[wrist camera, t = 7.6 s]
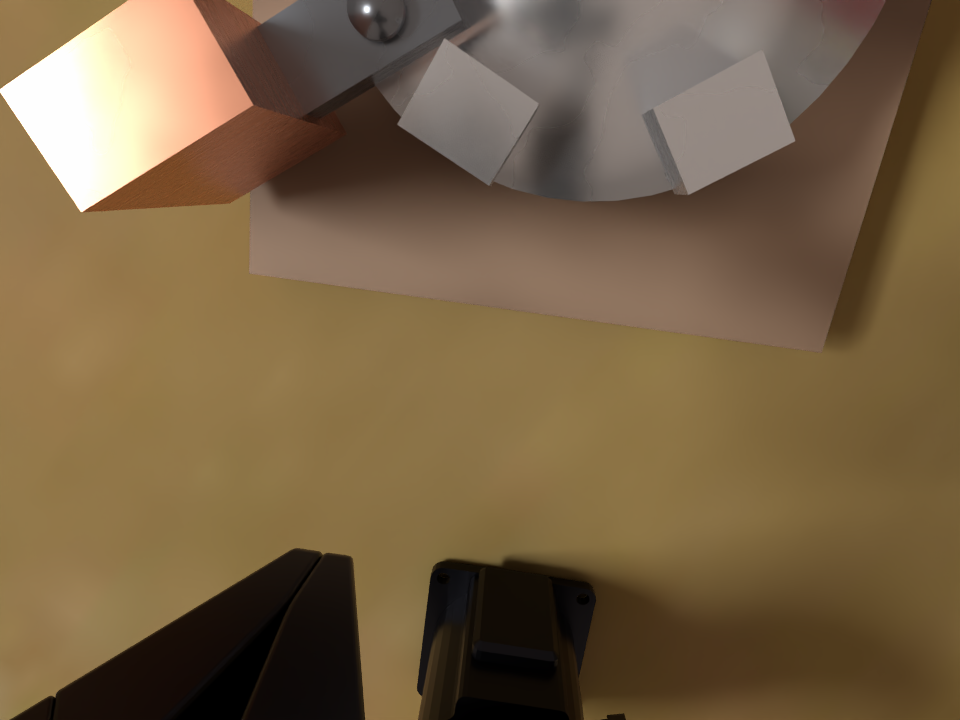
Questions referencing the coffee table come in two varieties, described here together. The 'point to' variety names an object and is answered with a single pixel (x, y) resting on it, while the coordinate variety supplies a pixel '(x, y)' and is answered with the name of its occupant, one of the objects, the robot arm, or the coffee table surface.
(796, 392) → the coffee table surface
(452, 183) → the square disc baseplate
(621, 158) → the round disc with cubes
